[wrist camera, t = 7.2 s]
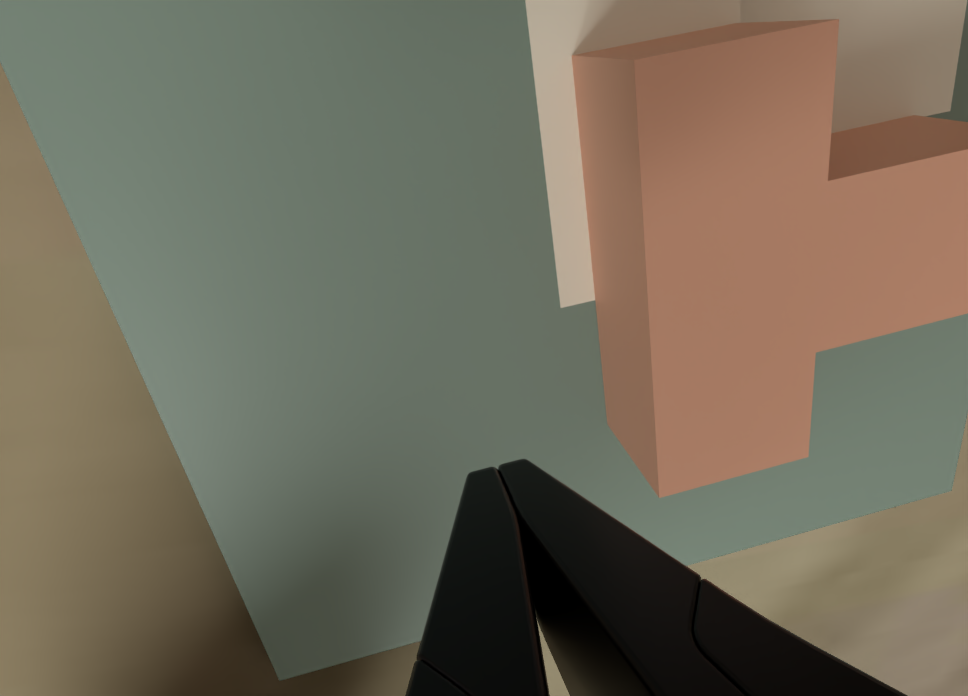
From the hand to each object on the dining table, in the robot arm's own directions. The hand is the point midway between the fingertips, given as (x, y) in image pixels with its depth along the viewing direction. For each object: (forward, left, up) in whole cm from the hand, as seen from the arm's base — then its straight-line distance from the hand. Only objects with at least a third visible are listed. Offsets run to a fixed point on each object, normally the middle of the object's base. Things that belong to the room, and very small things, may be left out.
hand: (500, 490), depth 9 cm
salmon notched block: (0, -9, -8) cm, 12 cm away
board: (0, -5, -9) cm, 10 cm away
